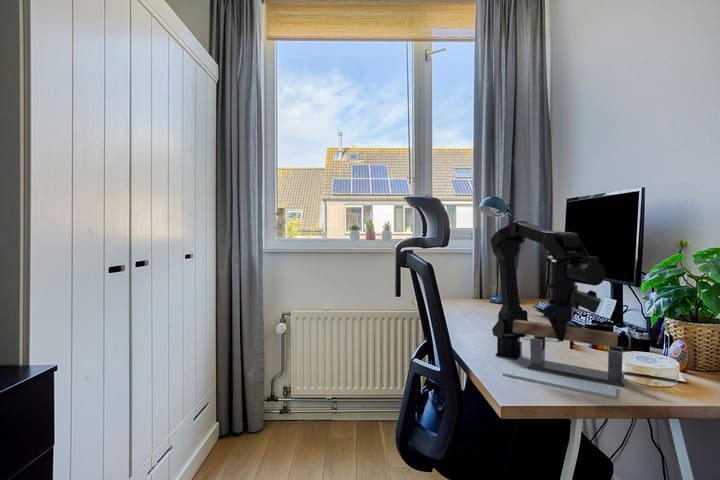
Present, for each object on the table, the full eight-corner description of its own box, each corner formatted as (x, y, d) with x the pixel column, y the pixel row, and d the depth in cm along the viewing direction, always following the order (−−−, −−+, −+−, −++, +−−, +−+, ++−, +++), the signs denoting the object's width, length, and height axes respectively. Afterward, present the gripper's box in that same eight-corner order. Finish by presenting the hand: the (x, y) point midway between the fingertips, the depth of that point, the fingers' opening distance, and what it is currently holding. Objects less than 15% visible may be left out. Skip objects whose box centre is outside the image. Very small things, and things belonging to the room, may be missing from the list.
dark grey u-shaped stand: (527, 368, 111) (528, 339, 111) (532, 361, 116) (533, 333, 116) (624, 386, 98) (624, 353, 97) (624, 378, 103) (624, 347, 103)
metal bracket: (509, 317, 153) (550, 319, 150) (509, 330, 155) (549, 332, 151) (514, 336, 140) (559, 339, 136) (513, 350, 142) (558, 353, 138)
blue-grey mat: (502, 375, 105) (502, 372, 105) (509, 367, 111) (509, 365, 111) (616, 399, 90) (616, 396, 90) (616, 389, 96) (616, 386, 96)
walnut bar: (512, 332, 105) (512, 321, 105) (515, 330, 108) (515, 319, 108) (617, 347, 92) (617, 335, 92) (617, 344, 94) (617, 332, 94)
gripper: (596, 287, 87) (595, 354, 88) (601, 279, 102) (600, 336, 103) (543, 283, 94) (542, 346, 94) (555, 276, 109) (554, 330, 109)
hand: (561, 339), depth 100 cm, fingers closed on walnut bar, 3 cm apart
